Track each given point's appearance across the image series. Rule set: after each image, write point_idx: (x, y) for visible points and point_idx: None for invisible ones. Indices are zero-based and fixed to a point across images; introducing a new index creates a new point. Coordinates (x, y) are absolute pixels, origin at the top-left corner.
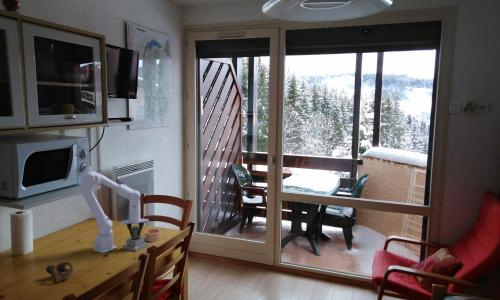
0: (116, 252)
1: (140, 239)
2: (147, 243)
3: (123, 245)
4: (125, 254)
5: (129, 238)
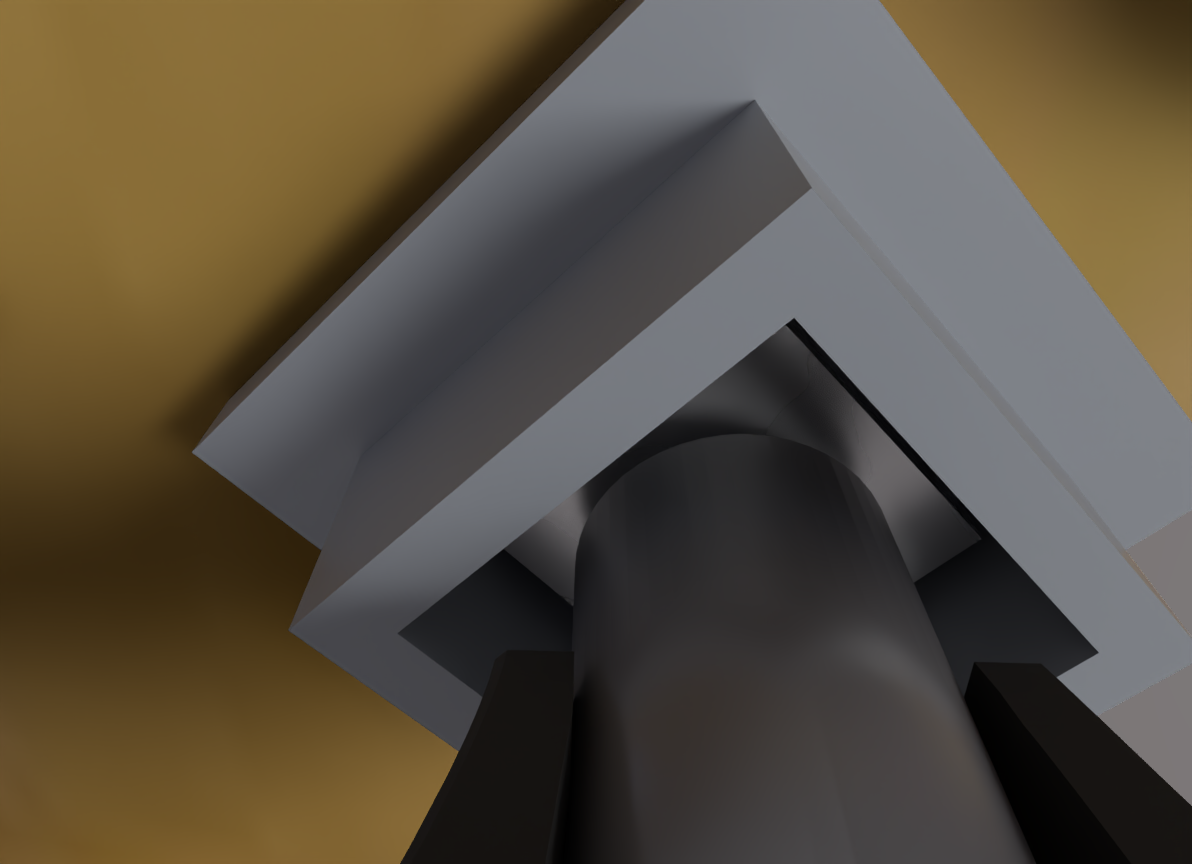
0: (108, 671)
1: None
2: (1178, 502)
3: (231, 459)
4: (394, 834)
5: (430, 580)
